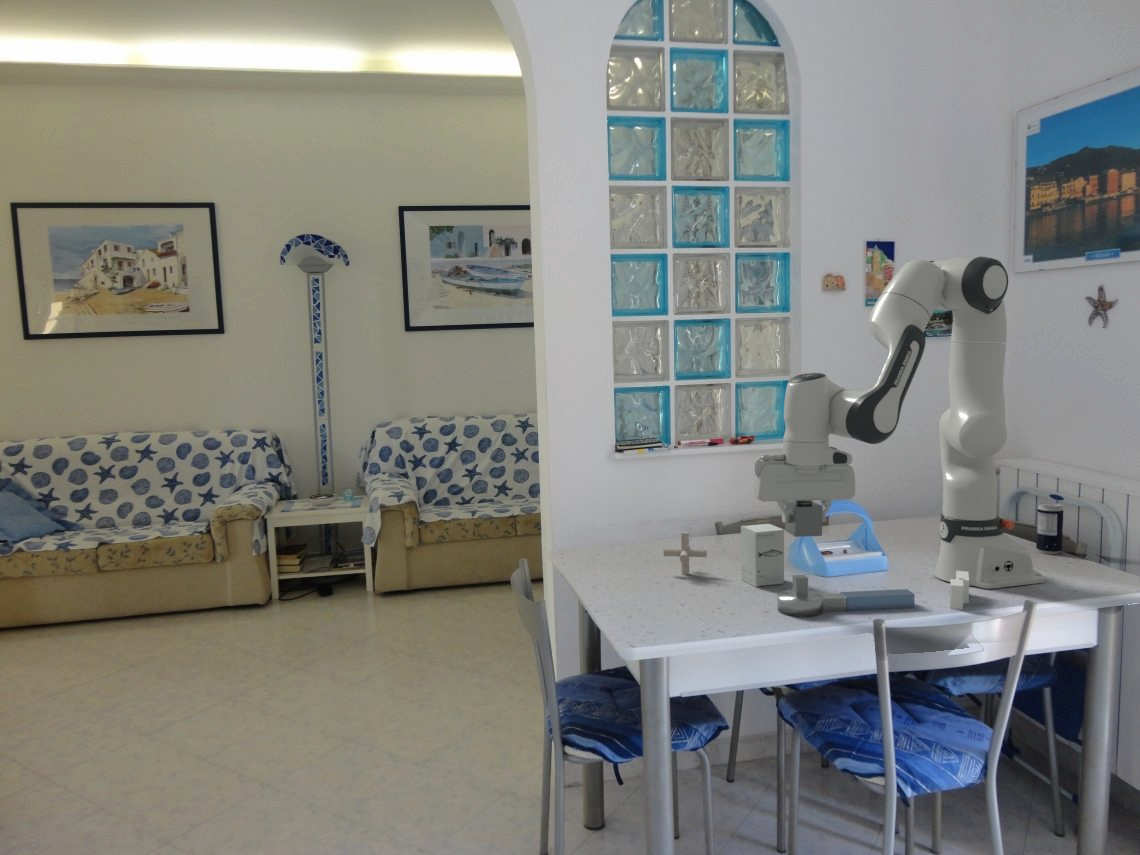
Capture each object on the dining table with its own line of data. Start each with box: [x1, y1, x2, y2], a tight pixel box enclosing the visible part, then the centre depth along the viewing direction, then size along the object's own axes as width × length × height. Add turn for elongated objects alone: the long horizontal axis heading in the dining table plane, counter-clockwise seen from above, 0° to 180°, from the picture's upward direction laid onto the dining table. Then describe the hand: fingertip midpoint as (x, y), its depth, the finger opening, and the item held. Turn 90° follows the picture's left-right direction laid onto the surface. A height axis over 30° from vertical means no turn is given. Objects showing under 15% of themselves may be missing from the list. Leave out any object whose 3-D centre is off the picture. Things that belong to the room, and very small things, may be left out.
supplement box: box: [740, 523, 785, 588], centre depth 198 cm, size 7×7×13 cm
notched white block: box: [949, 571, 970, 611], centre depth 181 cm, size 15×11×6 cm
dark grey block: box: [784, 500, 823, 538], centre depth 177 cm, size 6×6×7 cm
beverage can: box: [1035, 502, 1064, 555], centre depth 216 cm, size 6×6×12 cm
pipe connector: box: [663, 531, 708, 576], centre depth 206 cm, size 10×10×10 cm
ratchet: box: [777, 574, 916, 618], centre depth 178 cm, size 28×9×7 cm, turn 93°
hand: (803, 521), depth 177 cm, fingers closed on dark grey block, 6 cm apart
